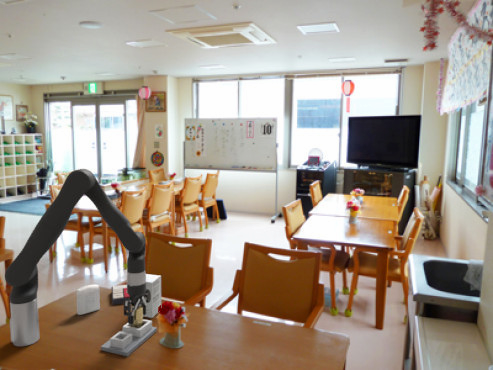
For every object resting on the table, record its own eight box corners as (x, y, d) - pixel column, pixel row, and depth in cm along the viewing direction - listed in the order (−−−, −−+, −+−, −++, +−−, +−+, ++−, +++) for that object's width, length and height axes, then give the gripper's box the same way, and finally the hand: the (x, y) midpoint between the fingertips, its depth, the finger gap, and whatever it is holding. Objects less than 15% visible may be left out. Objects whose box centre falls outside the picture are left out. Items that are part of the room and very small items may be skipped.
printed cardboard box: (112, 298, 185) (111, 285, 199) (112, 306, 186) (111, 292, 200) (135, 295, 189) (133, 282, 203) (135, 303, 190) (133, 290, 204)
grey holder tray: (101, 350, 147) (100, 339, 147) (132, 325, 166) (132, 315, 166) (127, 356, 144) (127, 345, 143) (157, 330, 162) (156, 320, 162)
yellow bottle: (129, 332, 158) (129, 304, 156) (136, 327, 162) (135, 300, 160) (139, 334, 157) (138, 306, 155) (145, 328, 161) (144, 301, 159)
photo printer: (97, 306, 184) (96, 281, 182) (101, 309, 181) (100, 284, 179) (75, 313, 177) (74, 287, 175) (79, 316, 174) (78, 290, 172)
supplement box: (133, 315, 175) (132, 280, 173) (143, 306, 184) (142, 273, 182) (153, 318, 173) (152, 282, 171) (162, 309, 182) (161, 275, 180)
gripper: (139, 274, 164) (139, 310, 166) (117, 286, 151) (118, 325, 153) (154, 276, 162) (154, 313, 164) (133, 289, 148) (134, 328, 151)
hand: (137, 318), depth 159 cm, fingers open, 8 cm apart
